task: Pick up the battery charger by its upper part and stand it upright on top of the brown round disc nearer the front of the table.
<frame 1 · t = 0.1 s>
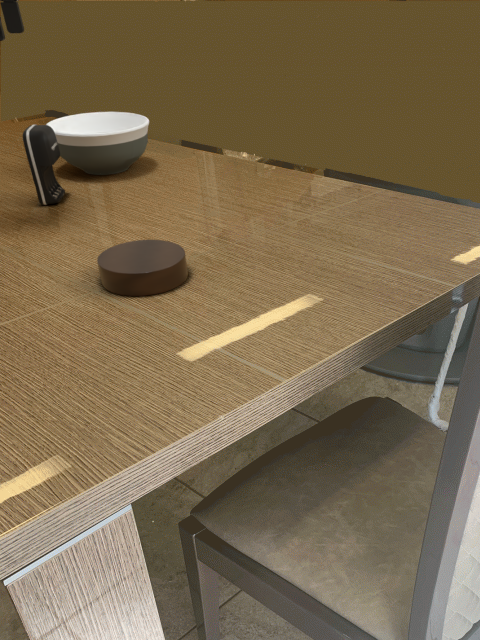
hand: (7, 36, 89), 24 cm above the table, tool pointing down, fingers open, 8 cm apart
battery charger: (56, 200, 109), on the table
bowl: (106, 169, 124), on the table
brown round disc: (145, 277, 84), on the table
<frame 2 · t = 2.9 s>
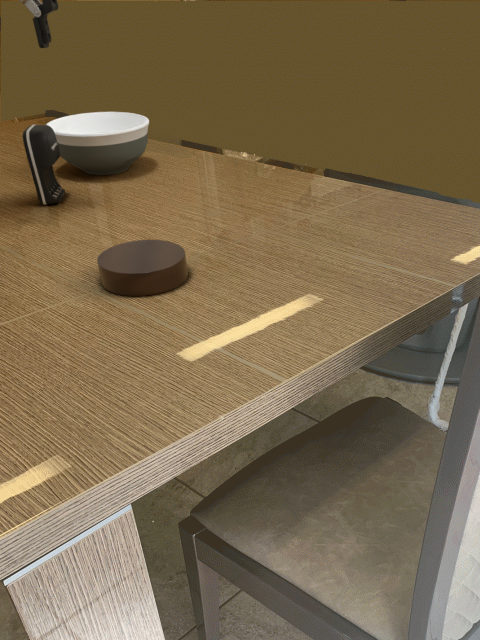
hand: (15, 47, 94), 23 cm above the table, tool pointing down, fingers open, 8 cm apart
nothing on the table moved.
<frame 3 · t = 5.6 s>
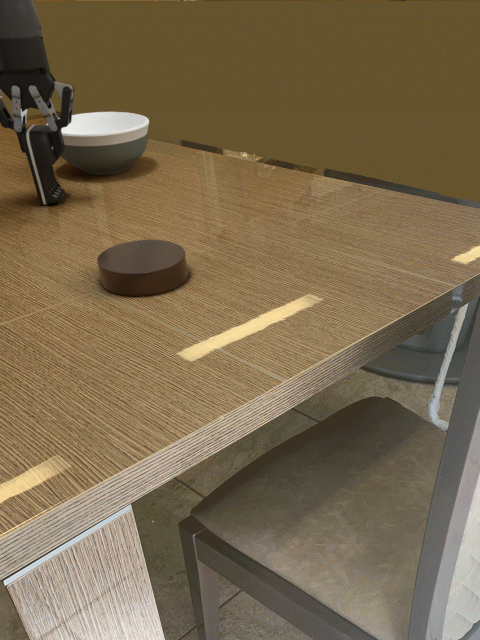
hand: (44, 154, 105), 7 cm above the table, tool pointing down, fingers closed on battery charger, 4 cm apart
battery charger: (56, 200, 109), on the table, touching gripper
everything else where it was.
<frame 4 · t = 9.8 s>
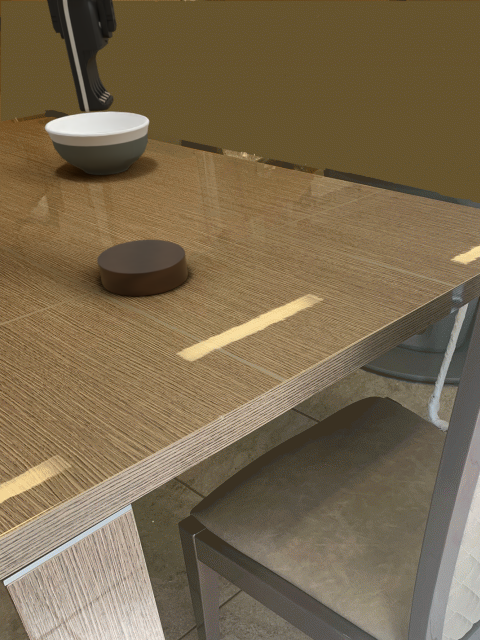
hand: (87, 37, 72), 27 cm above the table, tool pointing down, fingers closed on battery charger, 4 cm apart
battery charger: (101, 109, 76), point 19 cm above the table, touching gripper
everything else where it was.
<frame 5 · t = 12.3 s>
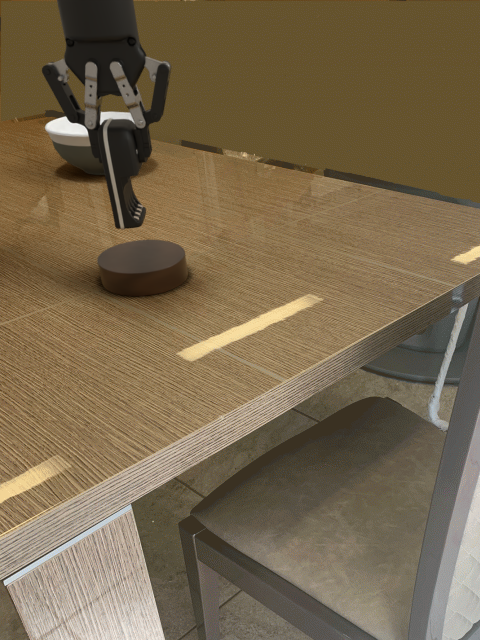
hand: (124, 160, 75), 15 cm above the table, tool pointing down, fingers closed on battery charger, 4 cm apart
battery charger: (135, 222, 80), point 7 cm above the table, touching gripper
everything else where it was.
when the fingers open (10 cm above the table, at t = 14.0 s): battery charger stays where it is, resting on brown round disc.
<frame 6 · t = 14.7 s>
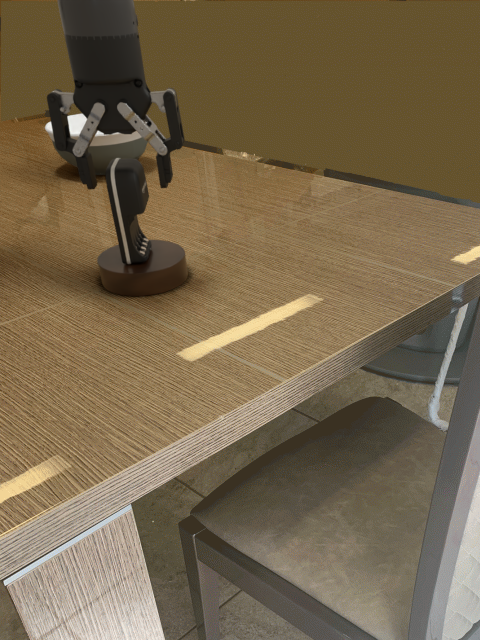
hand: (129, 187, 77), 12 cm above the table, tool pointing down, fingers open, 8 cm apart
battery charger: (141, 256, 82), point 3 cm above the table, touching brown round disc
brown round disc: (145, 277, 84), on the table, touching battery charger
everything else where it was.
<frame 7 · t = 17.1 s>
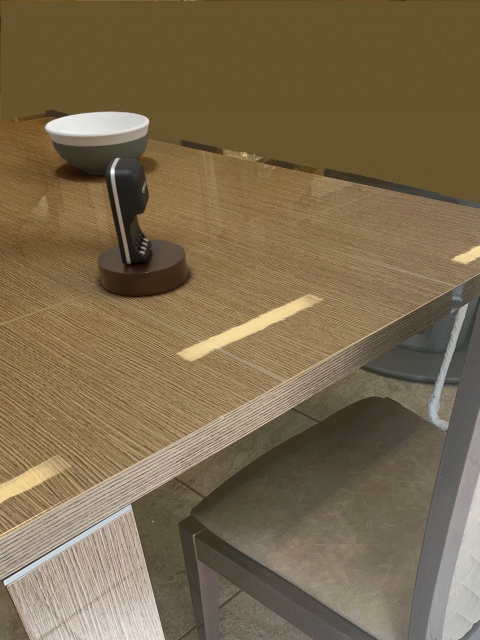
nothing on the table moved.
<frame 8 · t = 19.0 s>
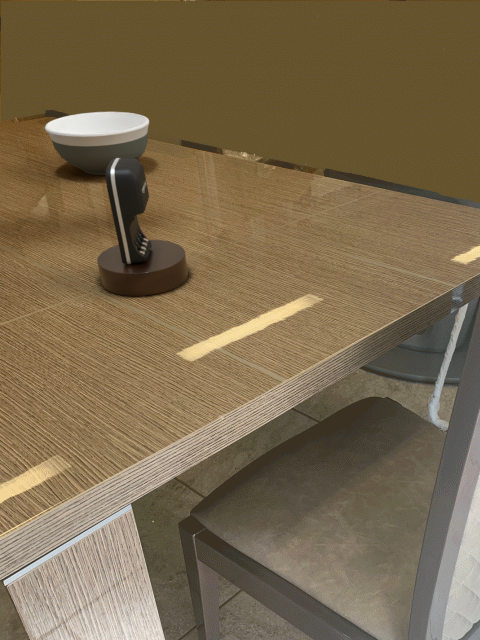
nothing on the table moved.
at the end: battery charger 0.1 cm off-centre on the brown round disc, point 2.8 cm above the brown round disc's base; battery charger tilted 0°; the gripper is holding nothing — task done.
